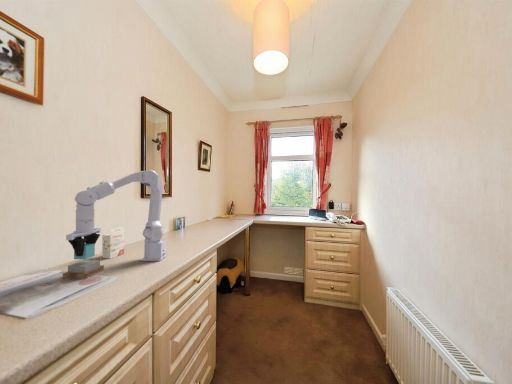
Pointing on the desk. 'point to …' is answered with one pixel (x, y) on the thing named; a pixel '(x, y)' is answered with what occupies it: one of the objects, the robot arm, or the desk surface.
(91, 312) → the desk surface
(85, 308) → the desk surface
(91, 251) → the teal block
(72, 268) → the gray slab
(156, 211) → the robot arm
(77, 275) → the walnut slab
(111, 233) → the ink cartridge box
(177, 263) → the desk surface
